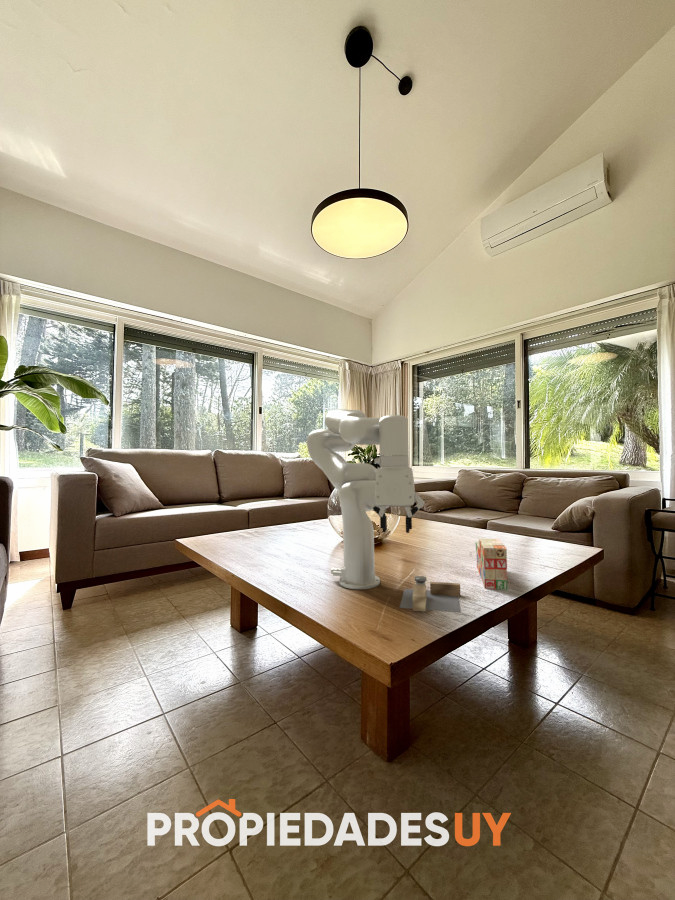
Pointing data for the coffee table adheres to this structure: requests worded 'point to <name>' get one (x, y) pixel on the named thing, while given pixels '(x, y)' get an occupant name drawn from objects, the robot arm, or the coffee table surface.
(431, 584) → the block
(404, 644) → the coffee table surface
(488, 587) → the stack of blocks
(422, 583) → the post
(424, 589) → the leg
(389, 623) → the coffee table surface
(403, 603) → the mat
